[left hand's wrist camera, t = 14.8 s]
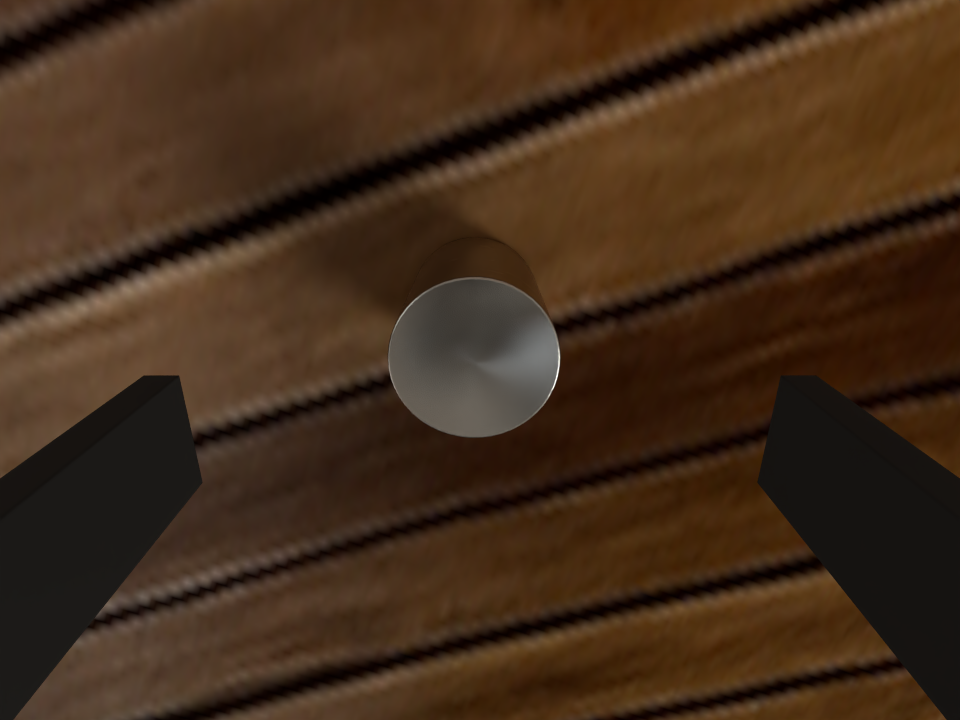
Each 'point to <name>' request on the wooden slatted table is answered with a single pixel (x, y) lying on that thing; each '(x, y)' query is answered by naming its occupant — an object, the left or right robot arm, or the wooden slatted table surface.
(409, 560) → the wooden slatted table surface
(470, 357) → the canister
